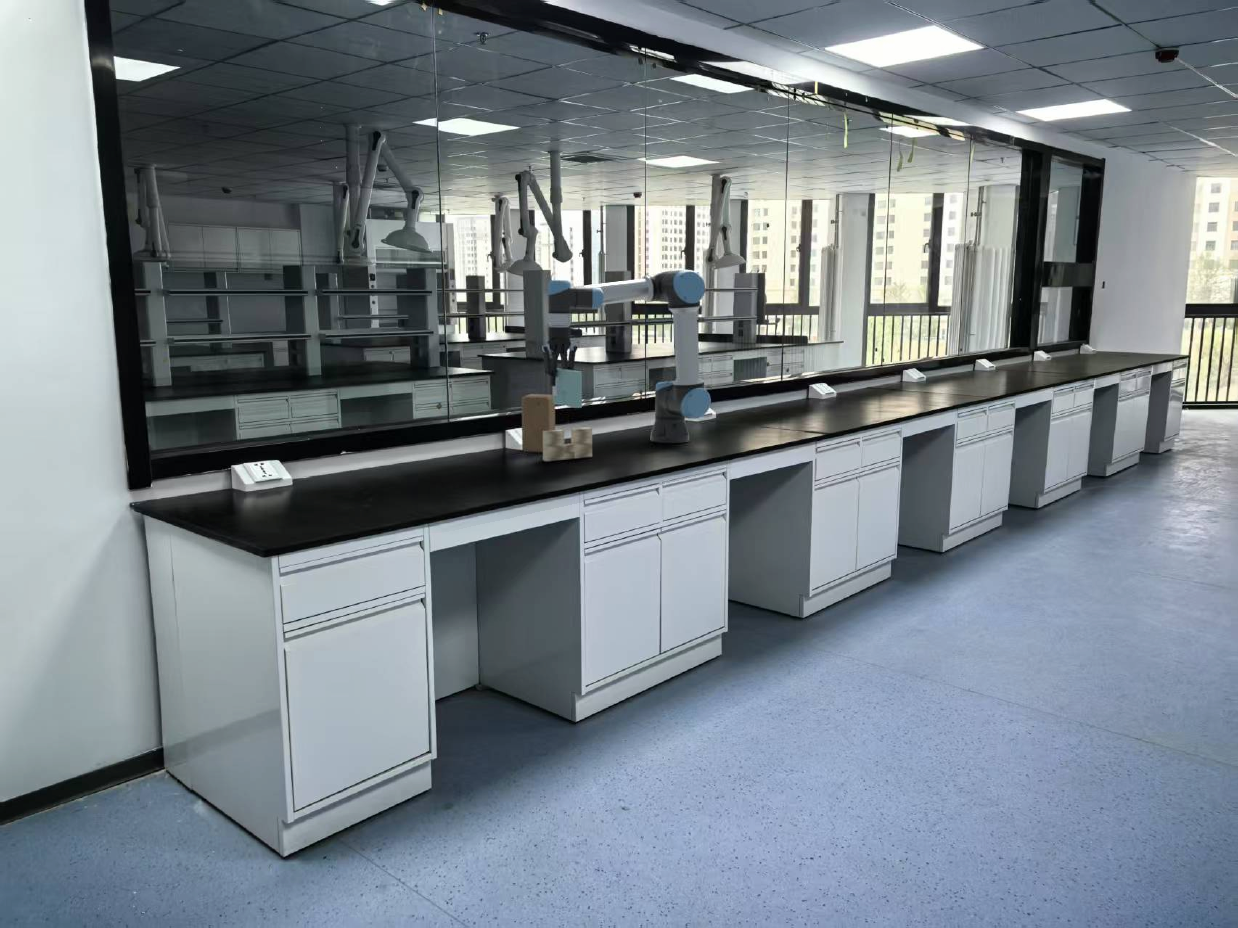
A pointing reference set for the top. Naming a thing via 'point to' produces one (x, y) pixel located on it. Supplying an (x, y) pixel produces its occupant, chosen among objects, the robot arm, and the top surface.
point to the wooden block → (536, 420)
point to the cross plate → (569, 388)
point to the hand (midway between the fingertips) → (559, 395)
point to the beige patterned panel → (561, 451)
